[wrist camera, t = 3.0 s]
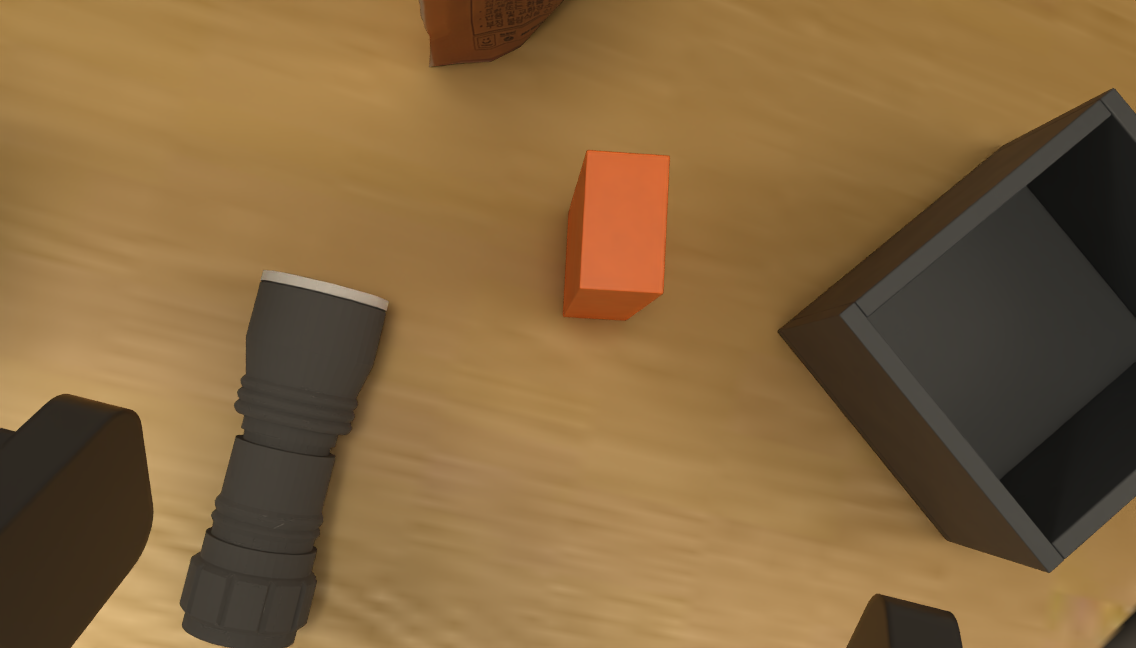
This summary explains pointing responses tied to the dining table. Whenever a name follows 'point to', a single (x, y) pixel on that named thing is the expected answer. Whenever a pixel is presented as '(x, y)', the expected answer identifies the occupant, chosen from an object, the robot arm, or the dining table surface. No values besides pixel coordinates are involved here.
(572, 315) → the block
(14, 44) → the dining table surface
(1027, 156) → the trash bin
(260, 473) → the flashlight
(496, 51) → the pancake mix bag
